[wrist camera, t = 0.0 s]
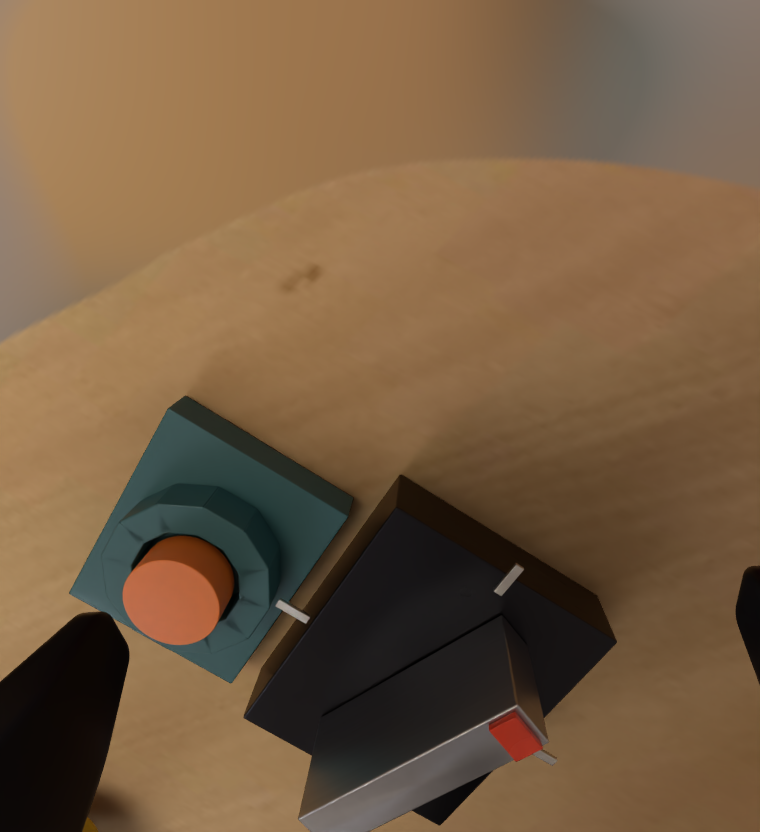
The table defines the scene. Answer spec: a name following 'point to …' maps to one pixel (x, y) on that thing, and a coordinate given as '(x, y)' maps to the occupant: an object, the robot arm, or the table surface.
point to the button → (179, 590)
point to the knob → (425, 732)
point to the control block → (217, 527)
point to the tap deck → (422, 619)
